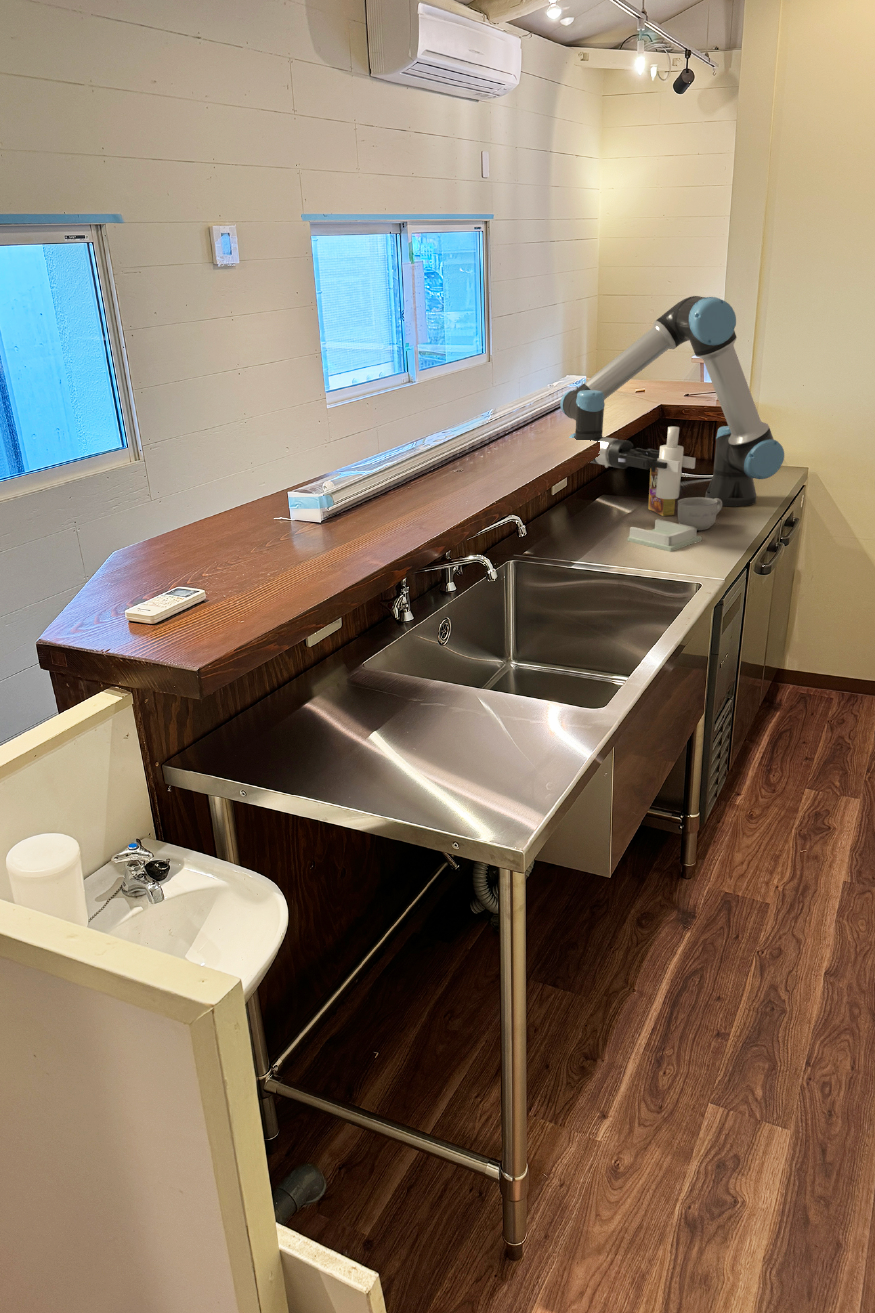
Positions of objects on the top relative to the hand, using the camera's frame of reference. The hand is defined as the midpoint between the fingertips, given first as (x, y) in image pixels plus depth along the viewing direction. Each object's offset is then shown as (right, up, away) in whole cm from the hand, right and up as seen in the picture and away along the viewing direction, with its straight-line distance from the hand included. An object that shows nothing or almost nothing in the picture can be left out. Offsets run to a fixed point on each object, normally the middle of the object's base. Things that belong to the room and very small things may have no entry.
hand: (686, 465), depth 245 cm
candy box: (+3, -6, +40) cm, 40 cm away
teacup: (+10, -13, +23) cm, 29 cm away
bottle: (-3, -7, +7) cm, 10 cm away
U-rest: (-3, -18, +12) cm, 22 cm away
